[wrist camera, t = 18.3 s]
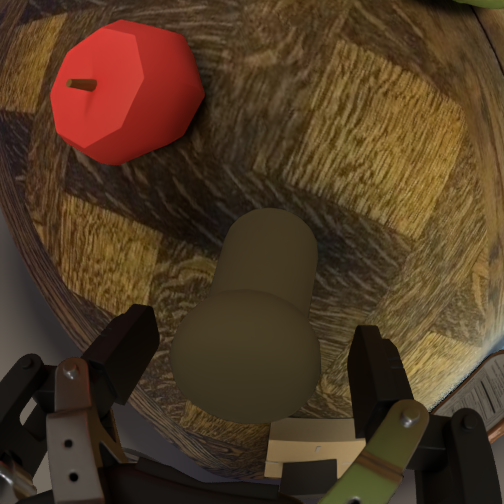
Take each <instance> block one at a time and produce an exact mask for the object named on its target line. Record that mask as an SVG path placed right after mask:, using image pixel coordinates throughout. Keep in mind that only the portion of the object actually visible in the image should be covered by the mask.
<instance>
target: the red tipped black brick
mask: <svg viewBox="0 0 504 504" xmlns="http://www.w3.org/2000/svg"><path fill="white" fill-rule="evenodd" d="M336 482H337V459H332V460H323V461H312V462H296V463H283V467H282V476H281V484H280V492H281V493H285V494H288V495H290V496H293V497H295V498H297V499H310V498H322V497H323V496H324V495H325V494H326V493H327V492H328V491H329V490H330V488H331V487H332V486H333V485H334V484H335V483H336Z"/></svg>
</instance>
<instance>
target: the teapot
mask: <svg viewBox="0 0 504 504" xmlns="http://www.w3.org/2000/svg"><path fill="white" fill-rule="evenodd" d="M454 1H456V2H458V3H467V4H470V5H474V6H478V7H483V8H488V9H503V8H504V0H454Z"/></svg>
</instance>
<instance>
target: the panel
mask: <svg viewBox="0 0 504 504" xmlns="http://www.w3.org/2000/svg"><path fill="white" fill-rule="evenodd" d="M365 445H366V442H365V438H361V439H355V428H354V418H351V419H308V418H287V417H286V418H284V419H281V420H279V421H275V422H271V428H270V436H269V443H268V451H267V459H266V461H265V463H266V467H265V474H264V476H265V477H278V478H281V476H282V467H283V463H296V462H312V461H323V460H332V459H337V478H340V477H341V476H342V475H343V474H344V472H345V471H346V470H347V469H348V468H349V466H350V465H351V464H352V463H353V461H354V460H355V459H356V457H357V456H358V455H359V454H360V452H361V451H362V449H363V448H364V447H365Z"/></svg>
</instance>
